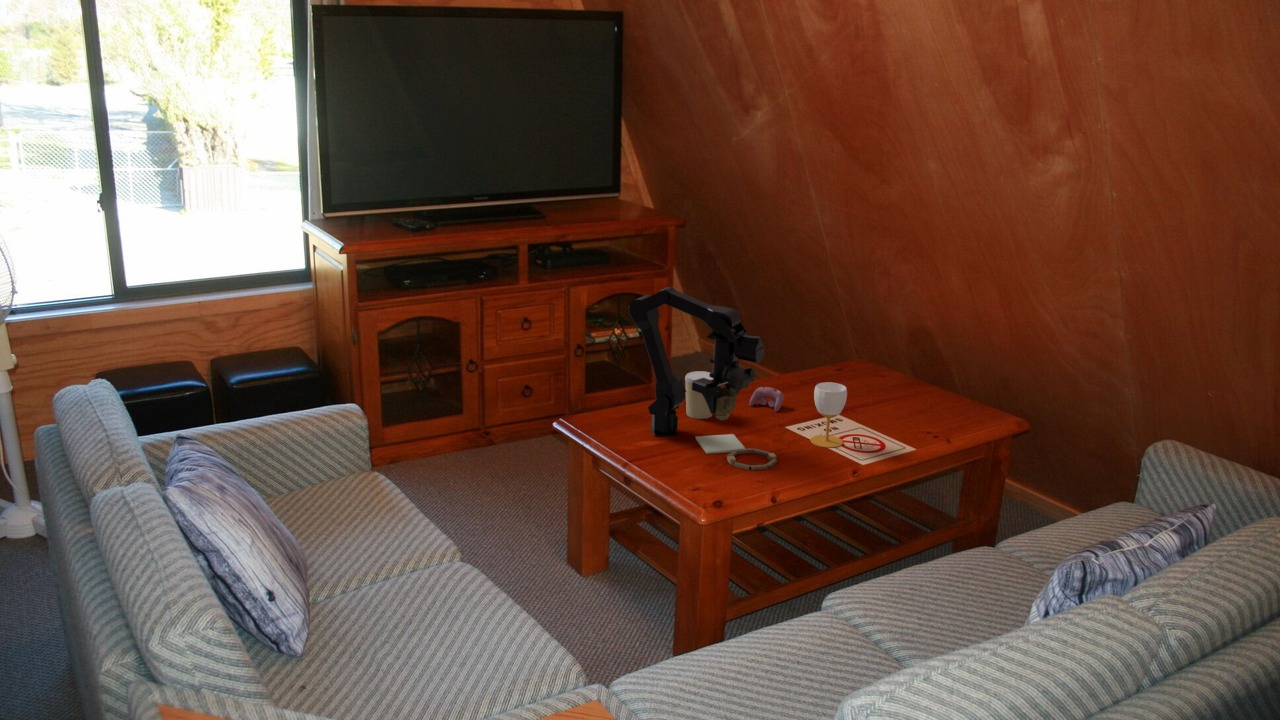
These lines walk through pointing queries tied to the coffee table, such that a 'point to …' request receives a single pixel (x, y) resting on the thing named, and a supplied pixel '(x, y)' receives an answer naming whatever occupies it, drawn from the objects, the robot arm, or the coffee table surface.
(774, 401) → the video game controller
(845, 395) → the cup
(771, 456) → the ring
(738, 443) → the felt pad
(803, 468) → the coffee table surface
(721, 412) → the cup
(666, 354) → the robot arm
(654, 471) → the coffee table surface
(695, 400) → the coffee cup
